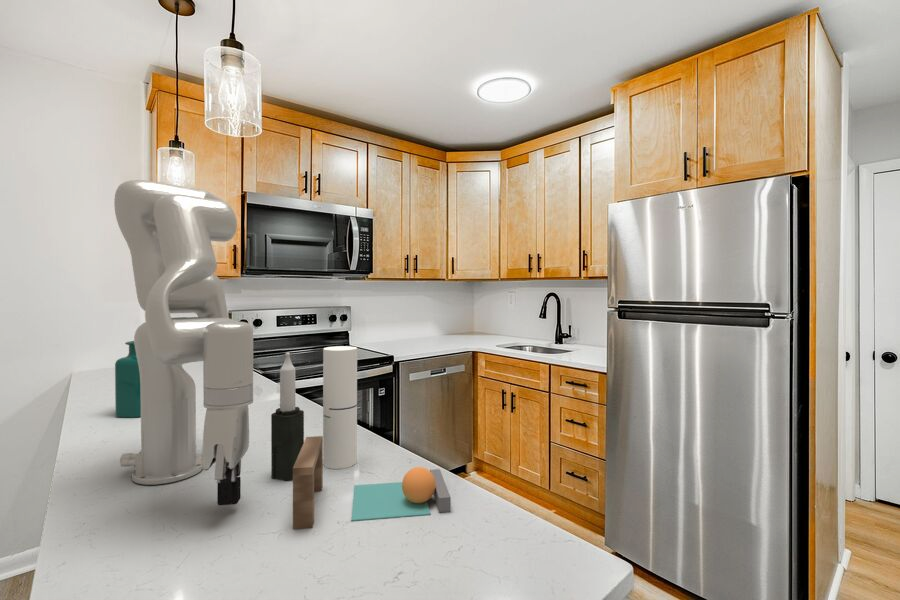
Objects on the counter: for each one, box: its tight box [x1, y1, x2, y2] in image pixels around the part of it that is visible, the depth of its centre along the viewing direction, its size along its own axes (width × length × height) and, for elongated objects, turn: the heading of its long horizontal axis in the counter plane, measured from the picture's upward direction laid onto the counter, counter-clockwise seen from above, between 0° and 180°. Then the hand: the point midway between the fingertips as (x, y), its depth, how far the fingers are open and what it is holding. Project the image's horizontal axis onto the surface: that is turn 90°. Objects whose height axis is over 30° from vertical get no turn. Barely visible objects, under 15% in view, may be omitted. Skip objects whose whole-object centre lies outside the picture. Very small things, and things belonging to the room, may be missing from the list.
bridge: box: [292, 435, 324, 530], centre depth 78 cm, size 3×15×10 cm, turn 10°
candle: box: [270, 351, 305, 482], centre depth 90 cm, size 5×5×25 cm
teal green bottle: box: [114, 340, 141, 419], centre depth 133 cm, size 10×8×22 cm
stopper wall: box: [429, 468, 452, 513], centre depth 82 cm, size 2×12×2 cm, turn 10°
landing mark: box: [351, 481, 431, 522], centre depth 80 cm, size 13×13×1 cm
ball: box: [401, 466, 436, 503], centre depth 80 cm, size 6×6×6 cm
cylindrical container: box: [322, 345, 358, 470], centre depth 97 cm, size 7×7×25 cm
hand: (229, 502), depth 76 cm, fingers closed
